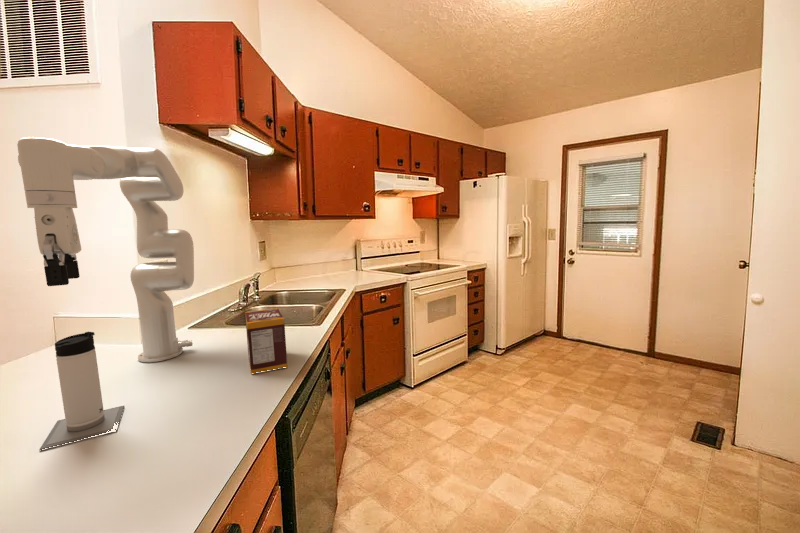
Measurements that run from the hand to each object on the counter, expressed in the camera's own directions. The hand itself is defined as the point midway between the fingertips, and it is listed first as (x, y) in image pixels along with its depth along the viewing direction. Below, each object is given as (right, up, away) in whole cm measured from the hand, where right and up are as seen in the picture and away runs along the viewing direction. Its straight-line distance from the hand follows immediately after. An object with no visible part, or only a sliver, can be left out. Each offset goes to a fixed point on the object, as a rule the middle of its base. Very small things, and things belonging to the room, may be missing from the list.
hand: (64, 281), depth 76 cm
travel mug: (+3, -32, +2) cm, 32 cm away
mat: (+3, -32, +2) cm, 32 cm away
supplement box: (+30, -27, +36) cm, 54 cm away
